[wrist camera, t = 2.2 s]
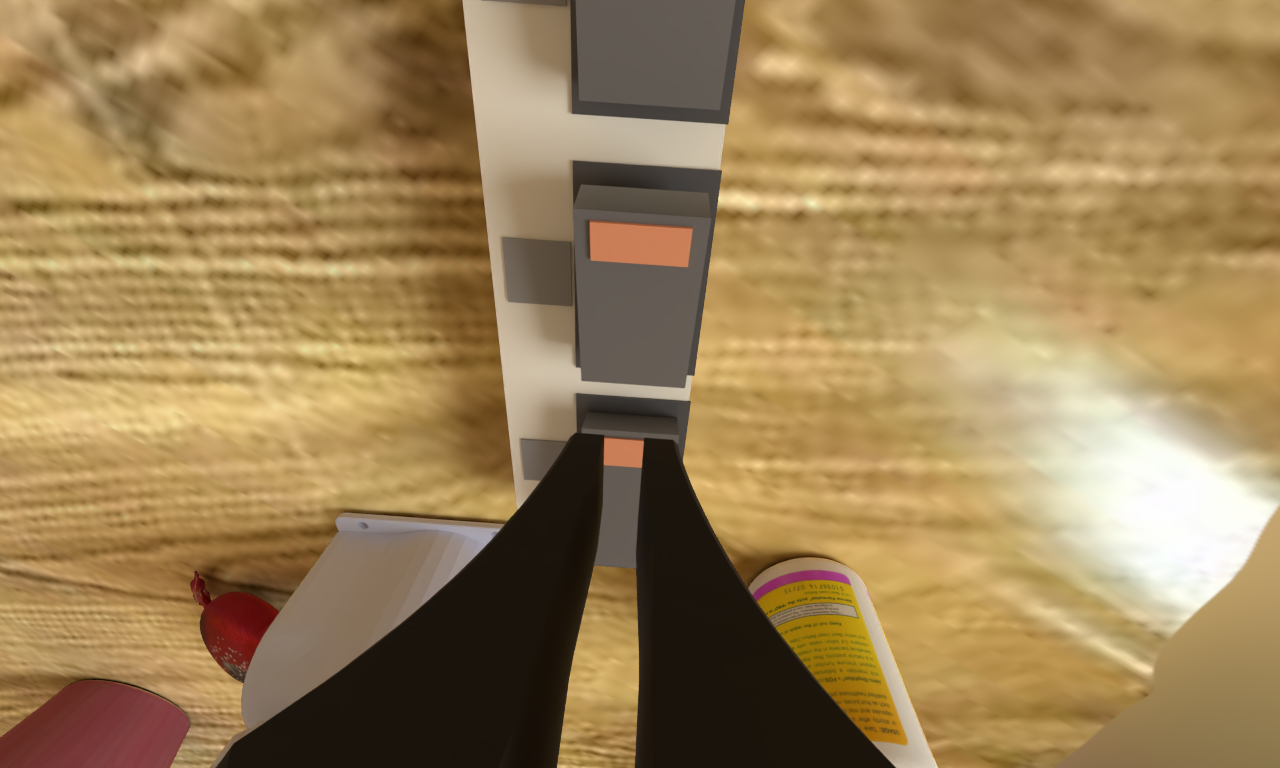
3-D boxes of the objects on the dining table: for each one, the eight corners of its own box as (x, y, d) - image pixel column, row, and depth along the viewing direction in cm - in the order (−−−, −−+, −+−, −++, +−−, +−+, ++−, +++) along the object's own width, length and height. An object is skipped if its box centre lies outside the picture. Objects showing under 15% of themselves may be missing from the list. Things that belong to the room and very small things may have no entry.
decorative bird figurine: (216, 516, 26) (347, 646, 25) (226, 626, 37) (318, 719, 36) (150, 553, 24) (291, 697, 23) (180, 659, 35) (278, 759, 34)
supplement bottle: (719, 586, 28) (754, 909, 17) (818, 533, 25) (935, 875, 14) (789, 637, 30) (858, 950, 19) (886, 594, 28) (1030, 928, 17)
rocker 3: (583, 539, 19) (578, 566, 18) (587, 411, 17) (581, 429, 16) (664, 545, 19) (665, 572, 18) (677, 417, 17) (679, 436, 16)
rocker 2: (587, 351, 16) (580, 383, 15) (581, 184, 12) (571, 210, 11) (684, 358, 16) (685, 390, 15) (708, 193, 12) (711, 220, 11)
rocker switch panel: (538, 488, 24) (517, 554, 21) (480, -310, 11) (400, -478, 8) (669, 497, 24) (669, 565, 21) (765, -292, 11) (809, -453, 8)
